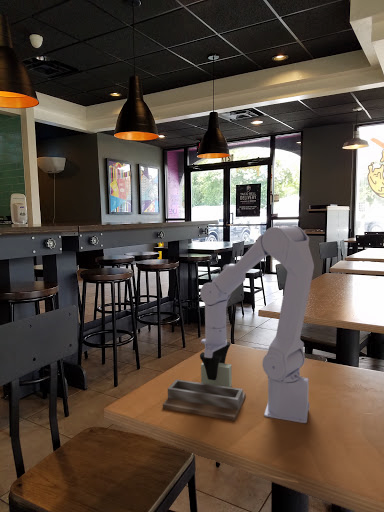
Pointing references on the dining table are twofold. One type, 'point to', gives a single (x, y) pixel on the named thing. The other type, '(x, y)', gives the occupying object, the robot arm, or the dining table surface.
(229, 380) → the panel
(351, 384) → the dining table surface
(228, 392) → the grey metal tray
